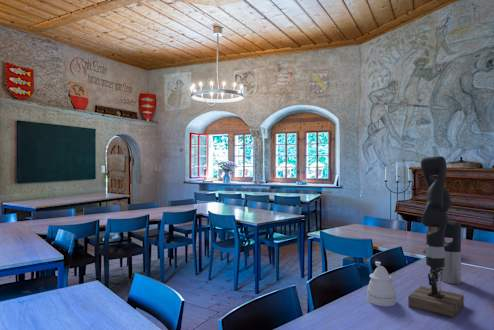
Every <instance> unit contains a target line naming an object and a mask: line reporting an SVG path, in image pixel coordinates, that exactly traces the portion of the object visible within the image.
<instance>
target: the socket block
mask: <svg viewBox="0 0 494 330" xmlns="http://www.w3.org/2000/svg"><path fill="white" fill-rule="evenodd" d="M407 297H408V299H407V301H408V308H411V309H415V310H419V311H422V312H426V313H429V314H430V313H431V314H433V315H437V316H441V317H445V318H448V319H453V320H454V319H455V317H457V315H458V313H459V312H460V311H461V310H462V309H463V307H465V306H464V305H465V303H464V301H465V297H464V294H461V293H457V292H451V291H447V290H443V289H441V299H439V298H435V297H431V287H430V286H424V285H421V286H419V287H418V288H416V289H415V290H414V291H412V293H410V294H409V295H407Z"/></svg>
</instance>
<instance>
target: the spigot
mask: <svg viewBox="0 0 494 330" xmlns="http://www.w3.org/2000/svg"><path fill="white" fill-rule="evenodd" d="M435 279H437V278H435ZM433 283H434V282H433ZM441 284H442V281H441V277H439V281H438V282H437V295H434V294H432V290H431V297H435V298H439V299H441V290H442V288H441V286H442V285H441Z"/></svg>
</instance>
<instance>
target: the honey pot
mask: <svg viewBox="0 0 494 330" xmlns="http://www.w3.org/2000/svg"><path fill="white" fill-rule="evenodd" d="M381 263H382V262H381V261H374V264H375V266H376V268H375V269H374V270H373V273H370V274H369V278H370V280H369V282H368V286H367V287H366V292H367V293H366V295H367V296H366V297H367V299H366V300H367V301H368V302H369V303H370V304H372V305H374V306H381V307H392V306H395V305H396V304H397V291H396V289H395V286H394V283H393V280H392V278H393V277H392V275H390V274H389V272H388V271H387V269H386V268H385V267H384V266H383V265H381Z"/></svg>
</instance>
